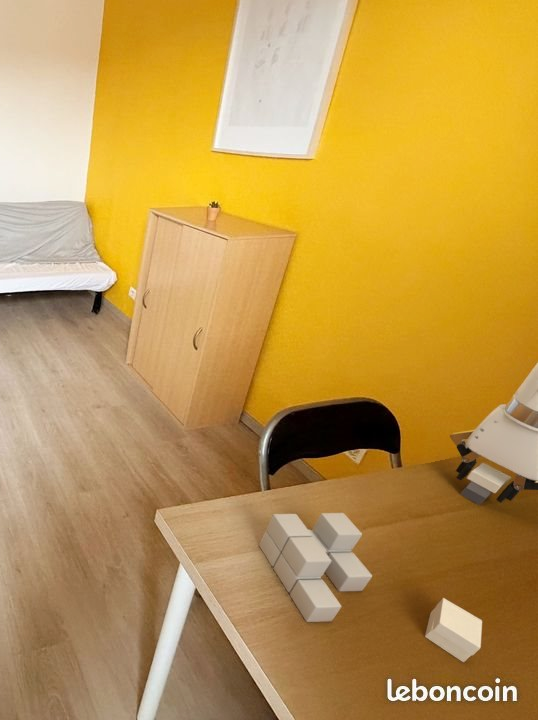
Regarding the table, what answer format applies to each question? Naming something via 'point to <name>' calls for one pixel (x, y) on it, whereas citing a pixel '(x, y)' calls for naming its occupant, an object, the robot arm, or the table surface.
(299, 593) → the light grey block structure
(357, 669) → the table surface
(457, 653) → the ivory rectangular block
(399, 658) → the table surface
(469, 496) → the grey blocks
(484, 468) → the cream white block
